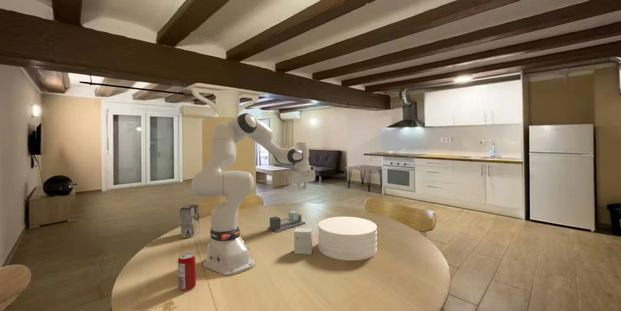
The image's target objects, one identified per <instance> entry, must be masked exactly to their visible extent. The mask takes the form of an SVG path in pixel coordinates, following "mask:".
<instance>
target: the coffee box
mask: <svg viewBox="0 0 621 311" xmlns="http://www.w3.org/2000/svg"><path fill="white" fill-rule="evenodd" d="M179 210H180V211H179V213H180V237H181V236H185V237H192V238H193V236H194V235H195V236H196V235H197V234H199V233H200V232H201V231H200V230H201V229H200V214H199V213H200V208H199V204H187V205H185V206H183V207H181V208H179ZM199 231H200V232H199ZM198 232H199V233H198ZM195 236H194V237H195Z"/></svg>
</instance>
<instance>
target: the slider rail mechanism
mask: <svg viewBox="0 0 621 311" xmlns="http://www.w3.org/2000/svg"><path fill="white" fill-rule="evenodd" d="M290 219H292V217H289V216H288V217H283V218H280V217H279V216H271V217H269V226H268V227H267V229H268V230H270V231H273V232H275V233H279V232H283V231H286V229H287V230H290V229H293V228H297V227H299V226H303V224H304V225H306V222H305V221H302V214H299V213H298V221H296V222H291V221H289V220H290ZM296 226H297V227H296Z"/></svg>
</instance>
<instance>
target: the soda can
mask: <svg viewBox="0 0 621 311" xmlns="http://www.w3.org/2000/svg"><path fill="white" fill-rule="evenodd" d="M177 275H178V276H177V277H178V278H177V279H178V282H177V283H178V285H177V286H178V290H179V291H181V292H189V291H192V290H193V289H194V288H195V287H196V285H197V283H196V282H197V278H196V277H197V275H196V256H195V253H194V252H184V253H181V254H180V255H178V259H177Z"/></svg>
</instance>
